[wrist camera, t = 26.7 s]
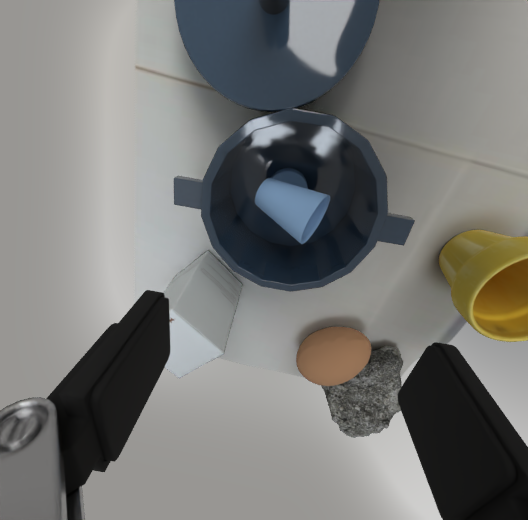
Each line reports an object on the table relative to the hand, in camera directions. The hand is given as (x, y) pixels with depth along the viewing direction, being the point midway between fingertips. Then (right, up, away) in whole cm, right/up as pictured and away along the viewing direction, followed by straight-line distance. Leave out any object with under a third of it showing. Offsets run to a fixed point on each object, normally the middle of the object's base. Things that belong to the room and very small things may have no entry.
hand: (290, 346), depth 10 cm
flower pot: (+24, +4, +23) cm, 34 cm away
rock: (+12, -16, +29) cm, 35 cm away
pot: (+2, +11, +21) cm, 24 cm away
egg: (+4, -13, +30) cm, 33 cm away
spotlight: (+2, +11, +21) cm, 24 cm away
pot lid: (0, +24, +12) cm, 27 cm away
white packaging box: (-9, 0, +29) cm, 30 cm away
